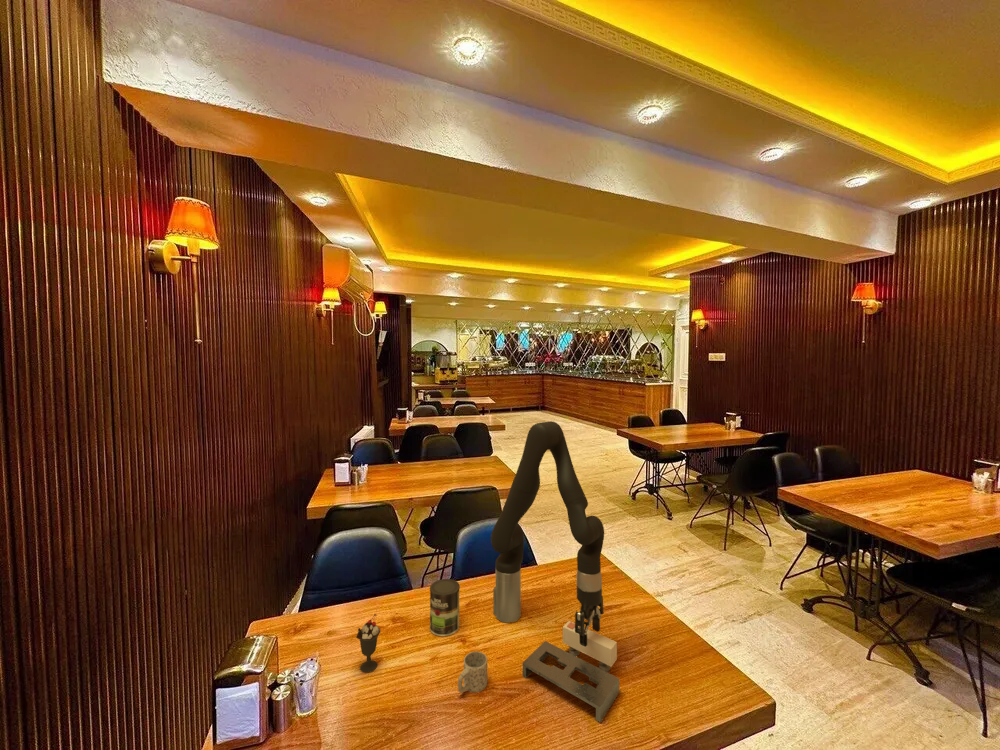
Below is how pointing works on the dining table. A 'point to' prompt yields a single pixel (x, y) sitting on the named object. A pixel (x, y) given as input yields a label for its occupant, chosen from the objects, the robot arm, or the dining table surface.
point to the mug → (474, 673)
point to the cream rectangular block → (591, 646)
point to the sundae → (368, 644)
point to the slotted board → (595, 697)
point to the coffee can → (444, 607)
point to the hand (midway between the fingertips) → (590, 637)
